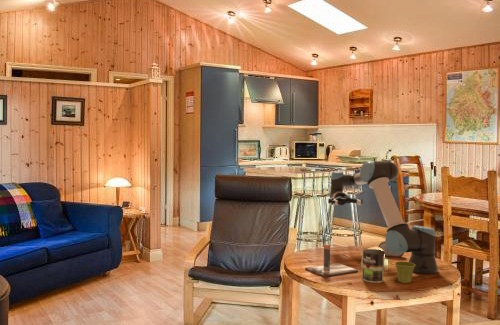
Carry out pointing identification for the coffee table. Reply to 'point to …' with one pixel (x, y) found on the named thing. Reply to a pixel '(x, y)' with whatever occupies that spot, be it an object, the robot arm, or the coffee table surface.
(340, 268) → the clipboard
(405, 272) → the plant pot
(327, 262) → the marker
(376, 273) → the coffee can
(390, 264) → the coffee table surface
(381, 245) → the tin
